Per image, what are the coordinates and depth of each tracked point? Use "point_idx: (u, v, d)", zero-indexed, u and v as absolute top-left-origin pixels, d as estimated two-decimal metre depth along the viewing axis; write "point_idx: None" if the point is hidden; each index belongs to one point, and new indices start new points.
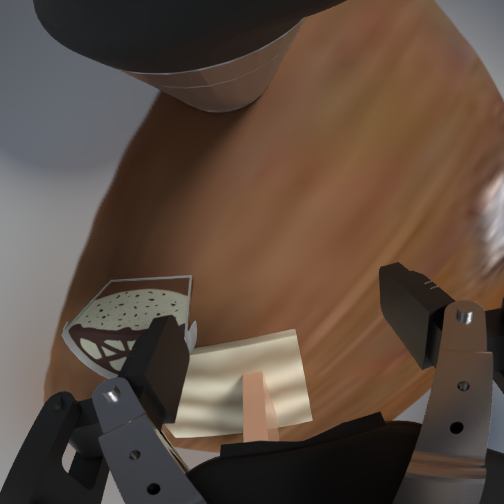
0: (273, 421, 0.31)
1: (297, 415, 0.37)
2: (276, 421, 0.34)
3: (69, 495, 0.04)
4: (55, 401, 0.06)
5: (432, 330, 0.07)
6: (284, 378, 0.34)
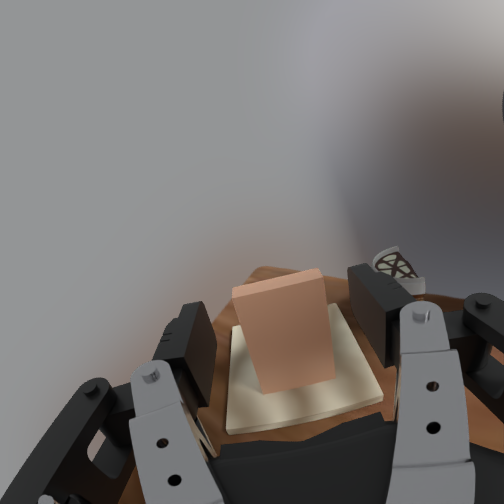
0: (286, 365, 0.31)
1: (246, 414, 0.30)
2: (263, 382, 0.32)
3: (90, 484, 0.04)
4: (89, 388, 0.06)
5: (390, 329, 0.07)
6: (322, 396, 0.30)
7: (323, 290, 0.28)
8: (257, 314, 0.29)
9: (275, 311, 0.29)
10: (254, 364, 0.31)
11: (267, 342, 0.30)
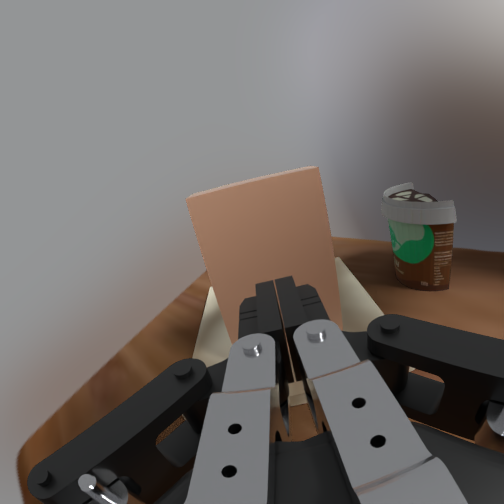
0: None
1: None
2: None
3: (147, 469, 0.05)
4: (182, 370, 0.07)
5: (293, 345, 0.08)
6: None
7: (320, 188, 0.19)
8: (223, 224, 0.20)
9: (249, 221, 0.20)
10: (222, 312, 0.22)
11: (239, 274, 0.21)
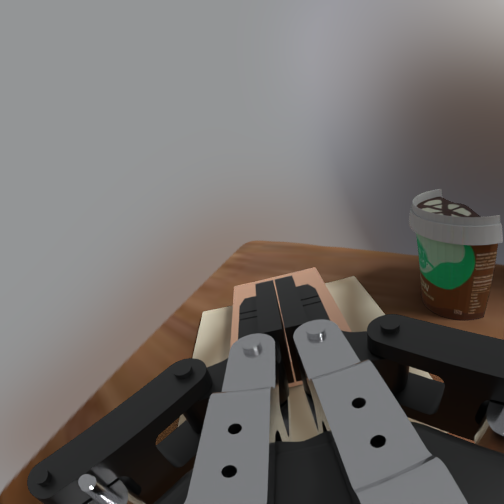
0: None
1: None
2: None
3: (147, 470, 0.05)
4: (182, 370, 0.07)
5: (293, 345, 0.08)
6: None
7: (316, 272, 0.30)
8: (252, 292, 0.30)
9: None
10: (232, 331, 0.24)
11: None
